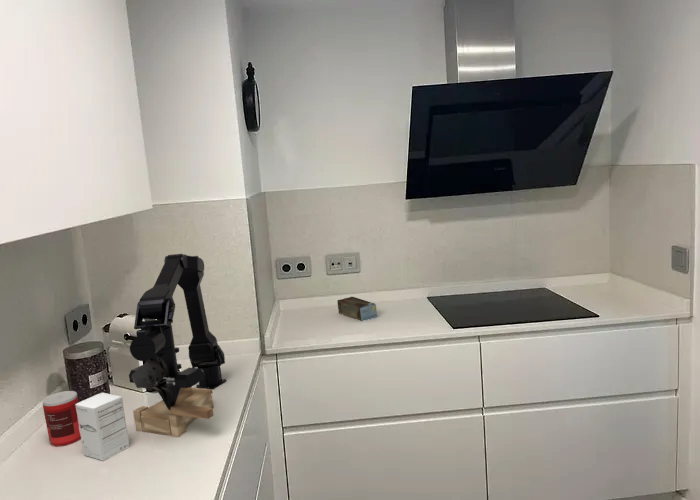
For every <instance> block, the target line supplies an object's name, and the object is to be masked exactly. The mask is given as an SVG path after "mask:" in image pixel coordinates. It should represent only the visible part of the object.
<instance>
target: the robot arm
mask: <svg viewBox="0 0 700 500" xmlns="http://www.w3.org/2000/svg"><path fill="white" fill-rule="evenodd" d="M204 276H205V262H204V260H203V259H202V258H201V257H199V255H187V254H186V253H185V254H183V253H174V254H168V255H166V256H164V263H163V265H162V268H161V270H160V272H159V275H158V276H157V279H156V280H155V283H154V285H153V286H152V287H151V288H149V289H148V290H146V291H144V293H143V294H142V295H141V297H140V299H139V300H138V302H137V306H136V312H135V318H134V324H133V329H134V330H136V337H135V338H133V339H132V341H131V342H130V345H129V352H130V354H131V356H132V358H134V359H135V360H137V361H138V362H139V361H140V362H144V363H143V364H142V365H139V366H137V367H135V368H133V369H131V370H130V372H129V373H128V378H129V383H133V384H134V385H135V387H136V388H137V389H140V388H142V389H146V390H150V389H154V390H156V391H157V393H158V394H159V395H160V398H161V400H163V401H164V403H165V405H166V406H167V408H168V410H171V408H170V407H172V406H173V405H175V403H176V400H177V397H178V394H179V391H180V389H181V388H189V387H192V388H193V386H195V385H196V386H195V388H201V389H212V390H213V389H216V388H217V387H218V386H221V385H222V384H223V383H225V382H227V379H226V378H223V377H222V368H221V366H222V365H225V364H226V357H225V352H224V351H223V349H222V348H221V346H220V345H219V343H218V340H217V338H216V336H215V335H214V334H213V333H212V332H211V331H210V329H209V324H208V319H207V315H206V309H205V304H204V298H203V293H202V287H201V283H202V281H203V278H204ZM178 286H179V287H180V289H182V290H183V291H182V292H183V295H184V300H185V305H186V309H187V315H188V320H189V325H190V329H191V334H192V339H191V340H190V342H189V345H188V348H187V349H188V358H189V361H190V364H191V366H190V367H188V368H185V369H184V370H182V371H179V370H181V369H182V364H181V363H178V361H177V359H178V358H177V353H179V352H180V348H179V347H178V346H177V347H176V346H175V339H174V332H173V326H172V324H173V322H174V316H175V310H176V303H175V301H174V298H173V296H174V293H175V291H176V288H177V287H178Z"/></svg>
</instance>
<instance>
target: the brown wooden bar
mask: <svg viewBox="0 0 700 500" xmlns="http://www.w3.org/2000/svg"><path fill="white" fill-rule="evenodd" d="M170 408H171V414H172V415H180V416H188V417H196V418H198V419H205V420H209V419H210V418H212V417H213V416H215V414H214V408H209V407H200V406H191V405H183V404H175V405H173V406H172V407H170Z"/></svg>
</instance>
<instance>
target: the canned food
mask: <svg viewBox="0 0 700 500" xmlns="http://www.w3.org/2000/svg"><path fill="white" fill-rule="evenodd" d="M79 402H80V401H79V397H78V393H77V392H76V391H75V390H65V391H60V392H55V393H53V394H50V395H48V396H46V397H44V399H42V408H43V415H44V419H45V424H46V429H47V435H48V441H49V443H50V445H51V446H53V447H65V446H69V445H71V444H74V443H76V442H78V441H79V440H81V435H80V429H79V423H78V417H77V411H76V405H75V404H77V403H79Z"/></svg>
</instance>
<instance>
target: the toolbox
mask: <svg viewBox="0 0 700 500" xmlns="http://www.w3.org/2000/svg"><path fill="white" fill-rule="evenodd" d="M192 406H200V407H209V408H213V409H214V407H215V406H214V401H213V393H212V394H210V395H209V396H207V397H205V398H204V399H202V400H201V401H199V402H197V403H196V404H194V405H192ZM147 408H149V406H146V405H141V406H140V407H138V408H136V409H134V410H132V413H133V420H134V425H135V426H134V427H135V431H136V432H142V433H149V434H155V435H163V436H169V437H171V436H172V437H175V438H179V437H181V436H182V435H184V434H185V433H187V432H188V430H187V427H188V426H189V425H190V424H192V423H193V422H195V421H196V420H197V419H199V418H196V417H188V416H180V415H172V414H171V415H169V419H161V418H154V417H146V416H142V415H141V412H142V411H144V410H146V409H147Z"/></svg>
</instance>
